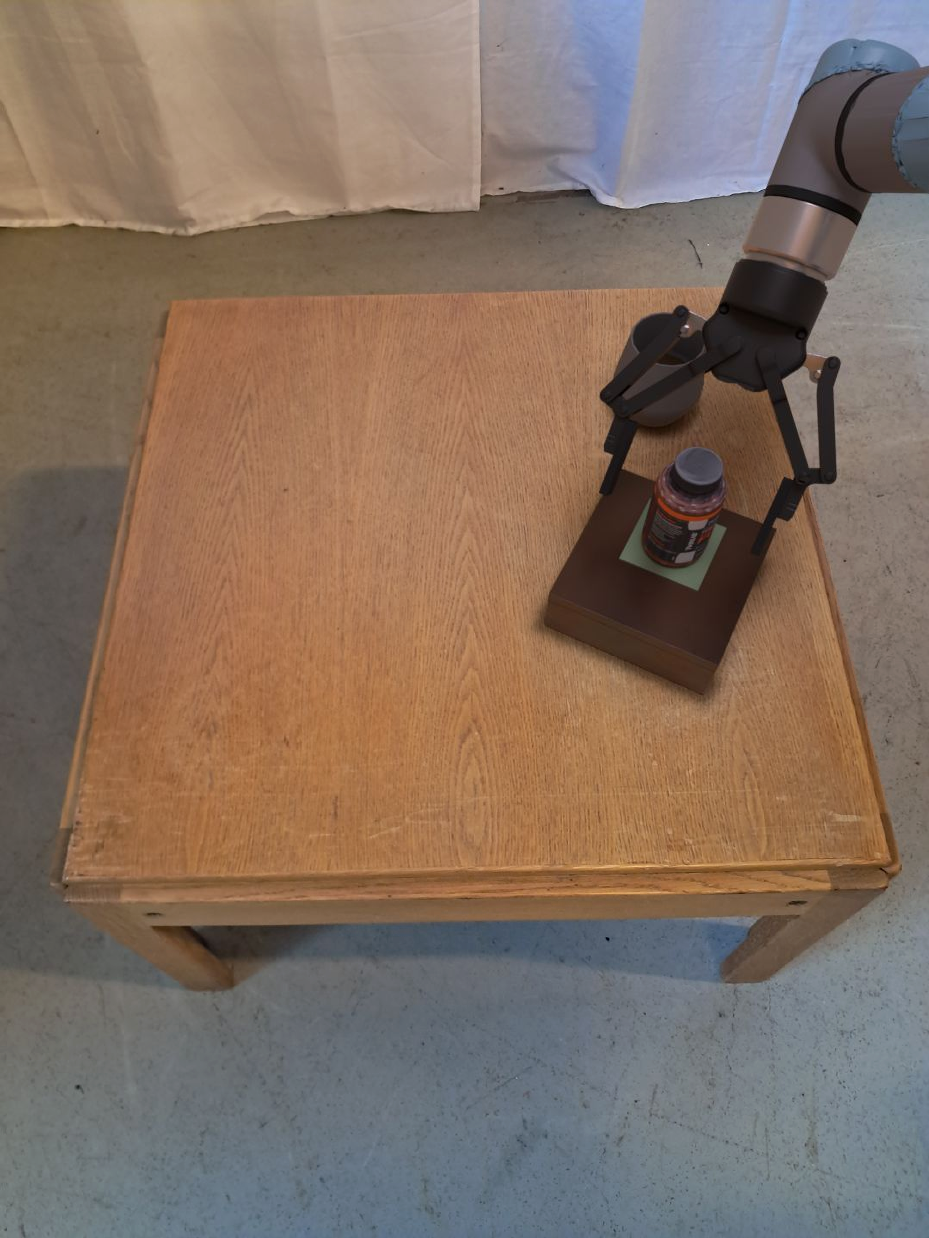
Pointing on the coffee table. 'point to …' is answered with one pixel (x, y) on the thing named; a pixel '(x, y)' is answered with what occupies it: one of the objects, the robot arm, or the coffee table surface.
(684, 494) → the supplement bottle
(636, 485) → the dark wooden box
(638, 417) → the cup
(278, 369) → the coffee table surface
